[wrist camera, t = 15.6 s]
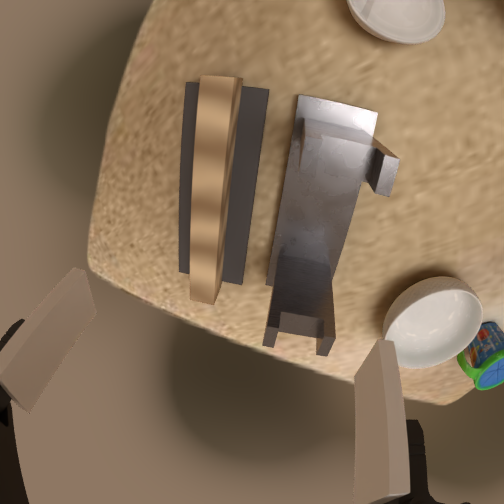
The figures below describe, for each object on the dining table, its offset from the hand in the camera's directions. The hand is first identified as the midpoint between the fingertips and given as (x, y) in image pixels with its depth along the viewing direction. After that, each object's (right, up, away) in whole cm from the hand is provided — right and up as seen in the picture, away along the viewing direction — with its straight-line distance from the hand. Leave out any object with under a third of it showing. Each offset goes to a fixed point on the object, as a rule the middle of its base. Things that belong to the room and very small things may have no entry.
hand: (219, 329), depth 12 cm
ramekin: (+17, +32, +11) cm, 38 cm away
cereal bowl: (+30, -5, +31) cm, 43 cm away
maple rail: (-3, +11, +26) cm, 29 cm away
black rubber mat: (-3, +11, +27) cm, 29 cm away
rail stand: (+10, +10, +25) cm, 29 cm away
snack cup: (+47, -13, +32) cm, 58 cm away
